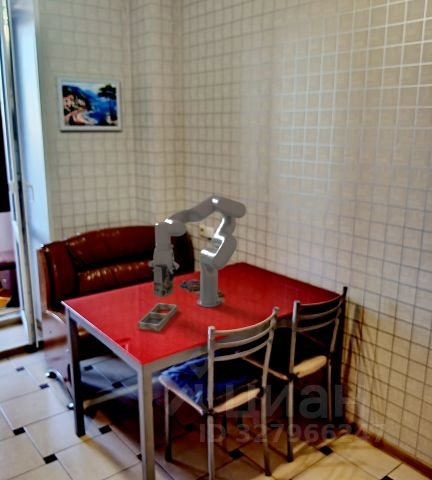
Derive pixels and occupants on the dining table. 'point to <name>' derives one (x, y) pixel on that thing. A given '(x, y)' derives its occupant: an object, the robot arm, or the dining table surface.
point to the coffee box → (163, 281)
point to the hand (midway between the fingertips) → (163, 279)
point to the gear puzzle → (194, 287)
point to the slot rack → (157, 317)
